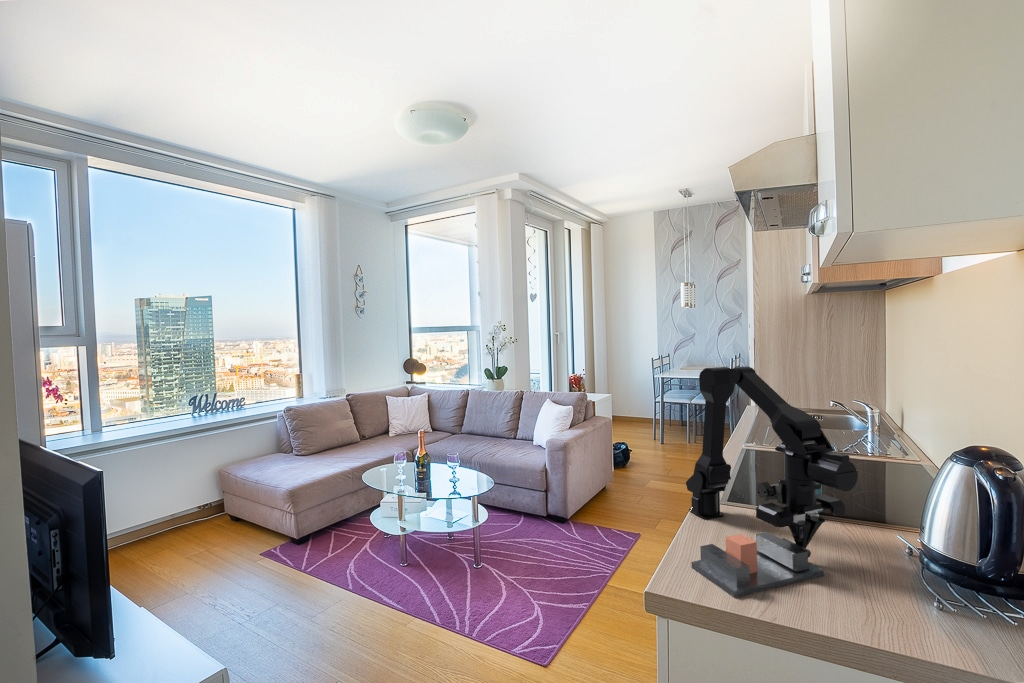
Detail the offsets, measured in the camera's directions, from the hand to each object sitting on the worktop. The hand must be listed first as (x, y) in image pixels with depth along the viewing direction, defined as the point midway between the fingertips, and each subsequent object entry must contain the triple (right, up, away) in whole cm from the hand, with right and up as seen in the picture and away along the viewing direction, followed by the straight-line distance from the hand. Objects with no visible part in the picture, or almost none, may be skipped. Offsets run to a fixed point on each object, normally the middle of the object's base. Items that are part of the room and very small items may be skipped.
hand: (801, 549), depth 101 cm
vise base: (-11, -3, -4) cm, 12 cm away
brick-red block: (-15, -2, -5) cm, 16 cm away
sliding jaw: (-4, -1, -1) cm, 4 cm away
